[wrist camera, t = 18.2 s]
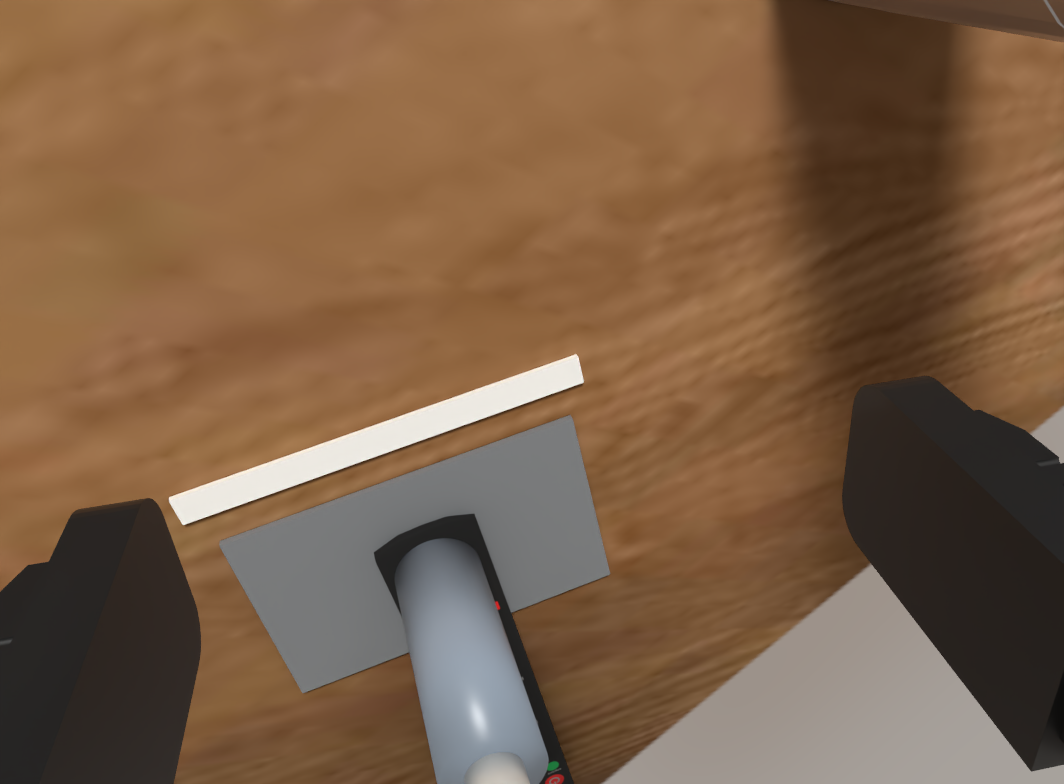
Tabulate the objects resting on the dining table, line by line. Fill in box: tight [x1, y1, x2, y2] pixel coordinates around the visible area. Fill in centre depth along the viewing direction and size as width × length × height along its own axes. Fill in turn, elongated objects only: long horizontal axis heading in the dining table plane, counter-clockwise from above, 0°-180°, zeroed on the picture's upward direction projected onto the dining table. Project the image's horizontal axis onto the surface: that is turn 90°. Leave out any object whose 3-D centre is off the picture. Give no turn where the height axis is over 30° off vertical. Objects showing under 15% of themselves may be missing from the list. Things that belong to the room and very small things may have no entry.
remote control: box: [374, 514, 574, 784], centre depth 50 cm, size 5×24×1 cm, turn 15°
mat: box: [220, 415, 610, 693], centre depth 46 cm, size 18×11×1 cm, turn 104°
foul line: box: [169, 354, 584, 525], centre depth 41 cm, size 20×2×1 cm, turn 104°
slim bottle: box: [395, 538, 549, 784], centre depth 38 cm, size 4×4×14 cm
